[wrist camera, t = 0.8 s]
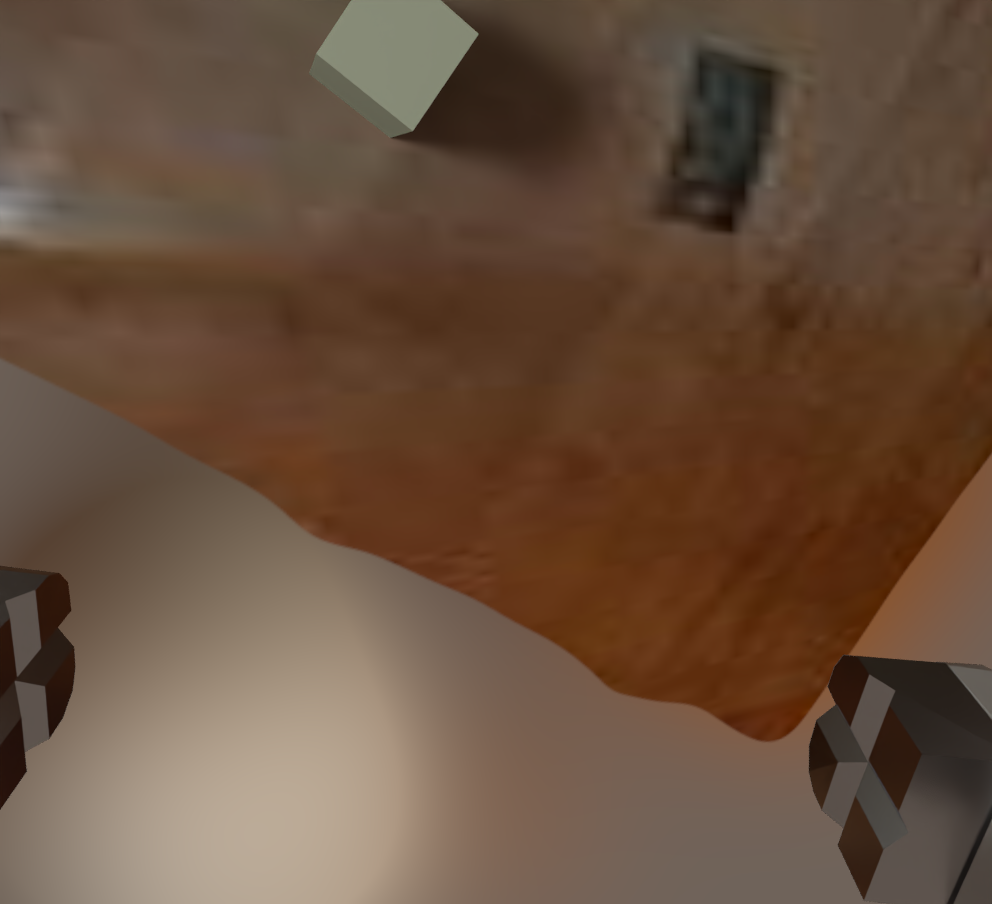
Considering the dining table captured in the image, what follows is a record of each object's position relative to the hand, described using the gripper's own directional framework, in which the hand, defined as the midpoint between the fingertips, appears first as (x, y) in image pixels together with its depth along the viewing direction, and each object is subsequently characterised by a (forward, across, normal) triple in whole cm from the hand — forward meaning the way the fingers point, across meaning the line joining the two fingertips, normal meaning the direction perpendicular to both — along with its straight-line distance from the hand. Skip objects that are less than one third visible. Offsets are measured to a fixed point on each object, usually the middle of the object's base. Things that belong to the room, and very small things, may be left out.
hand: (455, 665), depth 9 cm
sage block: (+41, +6, -6) cm, 42 cm away
